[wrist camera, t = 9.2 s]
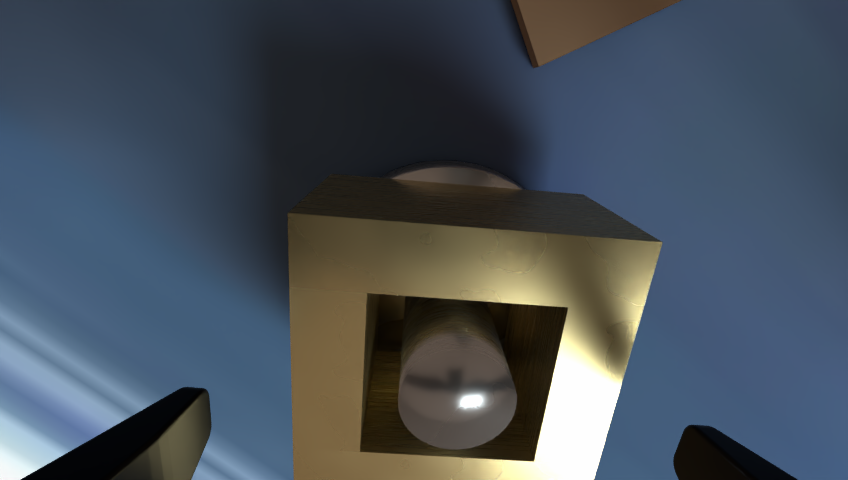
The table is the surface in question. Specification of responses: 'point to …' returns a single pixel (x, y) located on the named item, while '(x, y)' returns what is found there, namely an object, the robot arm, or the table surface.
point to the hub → (450, 344)
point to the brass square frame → (463, 280)
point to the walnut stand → (575, 23)
